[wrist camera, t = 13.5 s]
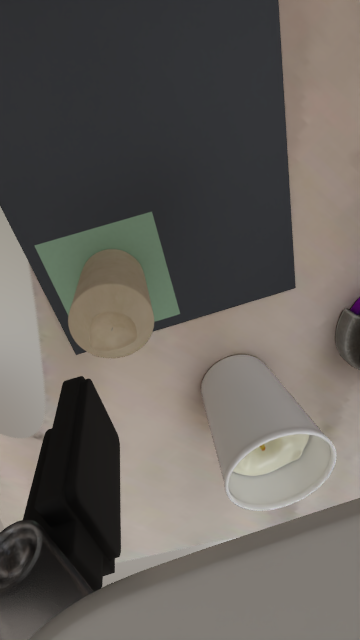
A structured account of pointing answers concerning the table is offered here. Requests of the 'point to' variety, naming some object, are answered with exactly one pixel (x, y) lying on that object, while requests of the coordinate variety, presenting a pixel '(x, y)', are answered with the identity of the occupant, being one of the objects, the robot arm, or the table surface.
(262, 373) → the candle holder
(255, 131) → the desk pad
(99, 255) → the candle
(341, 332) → the webcam
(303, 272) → the table surface
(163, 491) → the table surface
